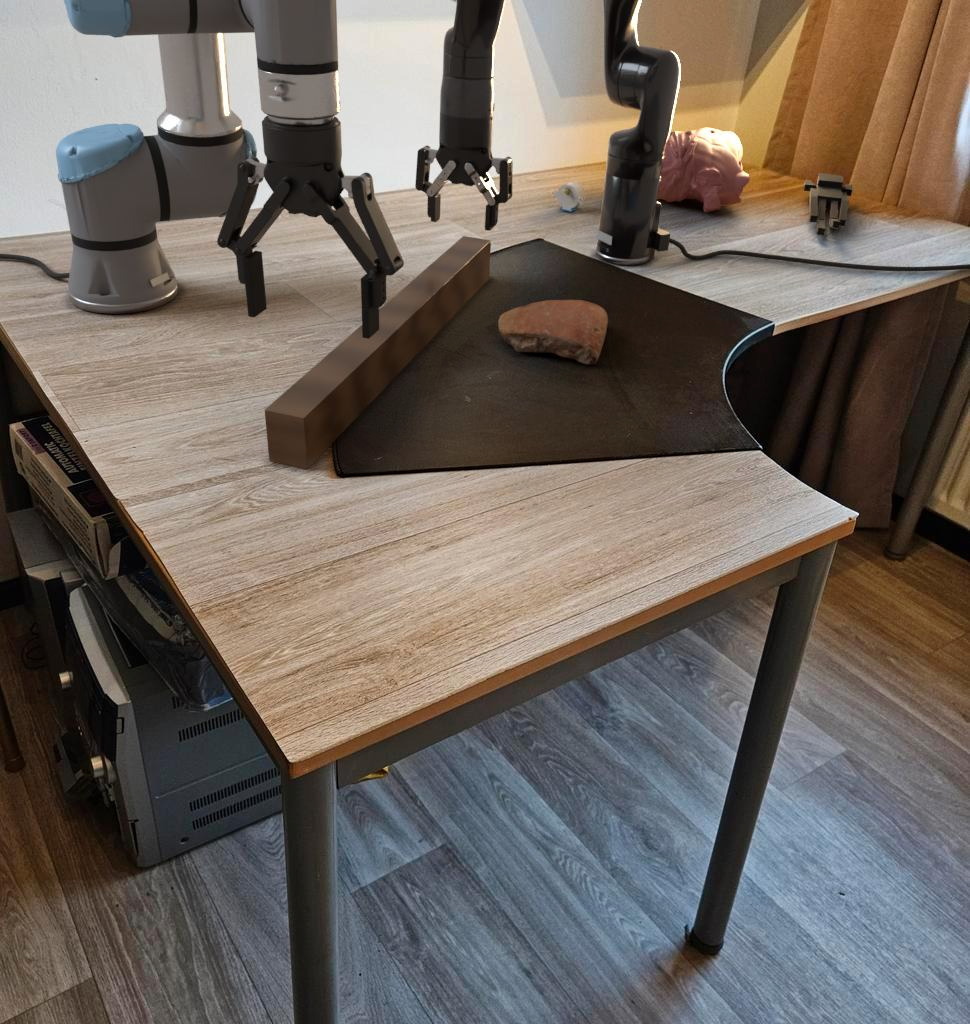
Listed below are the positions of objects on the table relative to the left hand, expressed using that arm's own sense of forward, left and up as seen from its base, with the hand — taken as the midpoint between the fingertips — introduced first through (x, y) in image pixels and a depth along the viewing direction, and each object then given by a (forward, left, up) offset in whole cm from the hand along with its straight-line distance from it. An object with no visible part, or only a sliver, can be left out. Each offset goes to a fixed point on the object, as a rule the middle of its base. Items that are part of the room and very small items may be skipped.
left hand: (313, 323), depth 104 cm
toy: (-12, +127, -14) cm, 129 cm away
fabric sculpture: (-41, +119, -14) cm, 127 cm away
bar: (-12, +21, -14) cm, 28 cm away
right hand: (-24, +42, -3) cm, 48 cm away
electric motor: (-45, +87, -14) cm, 99 cm away
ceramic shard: (-3, +41, -14) cm, 43 cm away
